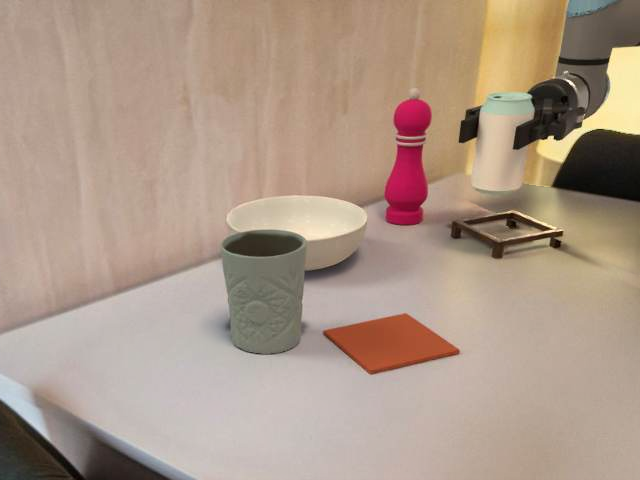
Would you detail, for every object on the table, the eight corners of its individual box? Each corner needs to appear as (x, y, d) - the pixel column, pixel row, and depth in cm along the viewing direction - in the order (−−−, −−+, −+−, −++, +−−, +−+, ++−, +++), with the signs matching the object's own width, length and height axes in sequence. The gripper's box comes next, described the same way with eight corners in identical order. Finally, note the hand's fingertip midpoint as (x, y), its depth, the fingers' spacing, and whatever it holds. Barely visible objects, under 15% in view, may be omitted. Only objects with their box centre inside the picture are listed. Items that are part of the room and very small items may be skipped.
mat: (459, 353, 90) (460, 349, 90) (370, 374, 87) (370, 370, 86) (405, 316, 99) (406, 312, 99) (323, 334, 96) (323, 330, 95)
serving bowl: (215, 284, 110) (212, 236, 106) (242, 237, 126) (241, 193, 122) (360, 290, 107) (362, 240, 102) (369, 240, 123) (372, 196, 119)
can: (474, 196, 106) (488, 100, 99) (465, 183, 112) (477, 91, 105) (525, 195, 106) (543, 99, 99) (514, 182, 112) (530, 89, 104)
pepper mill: (403, 229, 127) (415, 94, 115) (373, 219, 132) (382, 88, 119) (434, 220, 130) (448, 87, 118) (403, 210, 135) (414, 82, 123)
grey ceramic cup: (253, 364, 90) (250, 263, 82) (210, 335, 96) (203, 239, 89) (322, 341, 94) (325, 243, 86) (276, 315, 101) (274, 222, 93)
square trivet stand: (560, 246, 118) (563, 230, 116) (495, 259, 114) (498, 242, 113) (511, 225, 127) (514, 209, 125) (450, 236, 123) (452, 220, 122)
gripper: (495, 73, 118) (424, 97, 104) (628, 82, 108) (570, 110, 94) (487, 126, 122) (418, 156, 108) (614, 140, 112) (557, 175, 98)
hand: (489, 135), depth 101 cm, fingers closed on can, 7 cm apart
